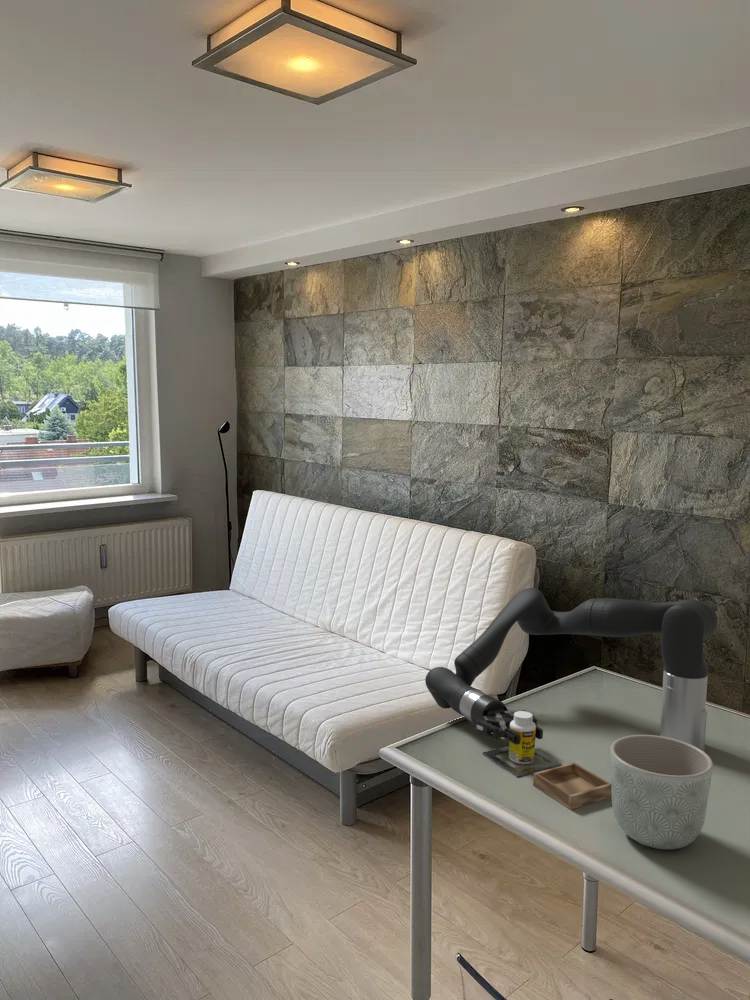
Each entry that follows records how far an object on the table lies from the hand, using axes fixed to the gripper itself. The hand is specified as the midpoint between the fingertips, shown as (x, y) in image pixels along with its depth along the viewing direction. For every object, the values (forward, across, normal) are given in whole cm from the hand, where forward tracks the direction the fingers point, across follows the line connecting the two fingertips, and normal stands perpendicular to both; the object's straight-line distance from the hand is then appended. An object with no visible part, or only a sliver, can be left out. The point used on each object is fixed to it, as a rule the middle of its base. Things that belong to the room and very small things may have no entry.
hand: (530, 737), depth 163 cm
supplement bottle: (-3, 0, +6) cm, 7 cm away
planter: (+32, +2, +6) cm, 33 cm away
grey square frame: (-3, 0, +6) cm, 7 cm away
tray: (+13, 0, +6) cm, 14 cm away
